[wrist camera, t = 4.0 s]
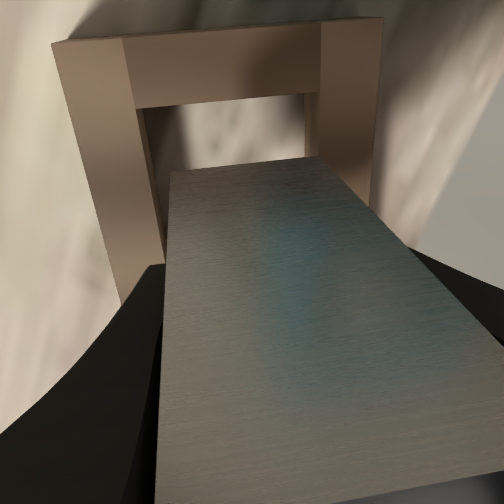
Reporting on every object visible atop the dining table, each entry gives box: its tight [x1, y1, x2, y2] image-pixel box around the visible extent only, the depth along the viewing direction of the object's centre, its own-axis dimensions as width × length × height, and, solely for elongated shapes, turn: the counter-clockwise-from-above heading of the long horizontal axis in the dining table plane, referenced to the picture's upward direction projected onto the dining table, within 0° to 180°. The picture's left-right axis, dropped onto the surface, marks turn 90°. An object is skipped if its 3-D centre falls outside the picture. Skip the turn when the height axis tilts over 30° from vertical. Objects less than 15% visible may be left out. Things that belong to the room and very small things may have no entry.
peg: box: [155, 156, 504, 504], centre depth 8 cm, size 4×4×9 cm
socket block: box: [51, 17, 384, 305], centre depth 16 cm, size 10×10×2 cm
